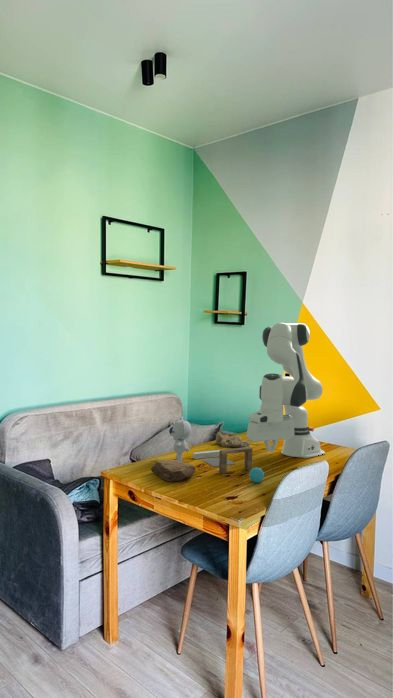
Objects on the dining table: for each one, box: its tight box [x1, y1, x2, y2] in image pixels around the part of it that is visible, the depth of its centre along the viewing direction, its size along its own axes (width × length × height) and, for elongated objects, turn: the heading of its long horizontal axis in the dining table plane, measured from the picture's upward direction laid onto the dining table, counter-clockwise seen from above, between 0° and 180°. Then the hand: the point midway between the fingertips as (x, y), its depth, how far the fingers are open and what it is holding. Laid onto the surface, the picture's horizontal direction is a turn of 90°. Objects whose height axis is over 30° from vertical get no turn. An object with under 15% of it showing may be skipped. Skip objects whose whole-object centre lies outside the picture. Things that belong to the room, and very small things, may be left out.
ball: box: [248, 467, 265, 483], centre depth 192 cm, size 6×6×6 cm
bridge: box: [218, 446, 253, 475], centre depth 207 cm, size 3×15×10 cm, turn 116°
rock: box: [150, 459, 196, 483], centre depth 198 cm, size 20×7×15 cm
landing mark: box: [201, 457, 237, 468], centre depth 221 cm, size 12×12×1 cm
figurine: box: [215, 431, 251, 448], centre depth 253 cm, size 12×8×20 cm
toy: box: [169, 416, 192, 462], centre depth 222 cm, size 17×10×20 cm, turn 5°
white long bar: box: [192, 449, 221, 460], centre depth 230 cm, size 16×2×2 cm, turn 116°
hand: (270, 451), depth 183 cm, fingers closed
